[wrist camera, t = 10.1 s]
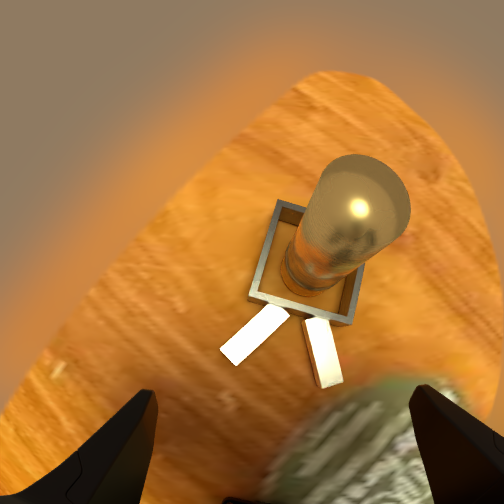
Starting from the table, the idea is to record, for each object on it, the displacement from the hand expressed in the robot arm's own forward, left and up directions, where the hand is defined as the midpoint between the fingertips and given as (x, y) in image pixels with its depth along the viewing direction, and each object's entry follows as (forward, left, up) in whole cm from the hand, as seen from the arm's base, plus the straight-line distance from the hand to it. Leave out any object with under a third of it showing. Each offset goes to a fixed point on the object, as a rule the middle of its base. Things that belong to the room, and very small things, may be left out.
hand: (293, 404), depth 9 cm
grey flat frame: (+5, -1, -10) cm, 12 cm away
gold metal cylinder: (+7, -1, -10) cm, 13 cm away
